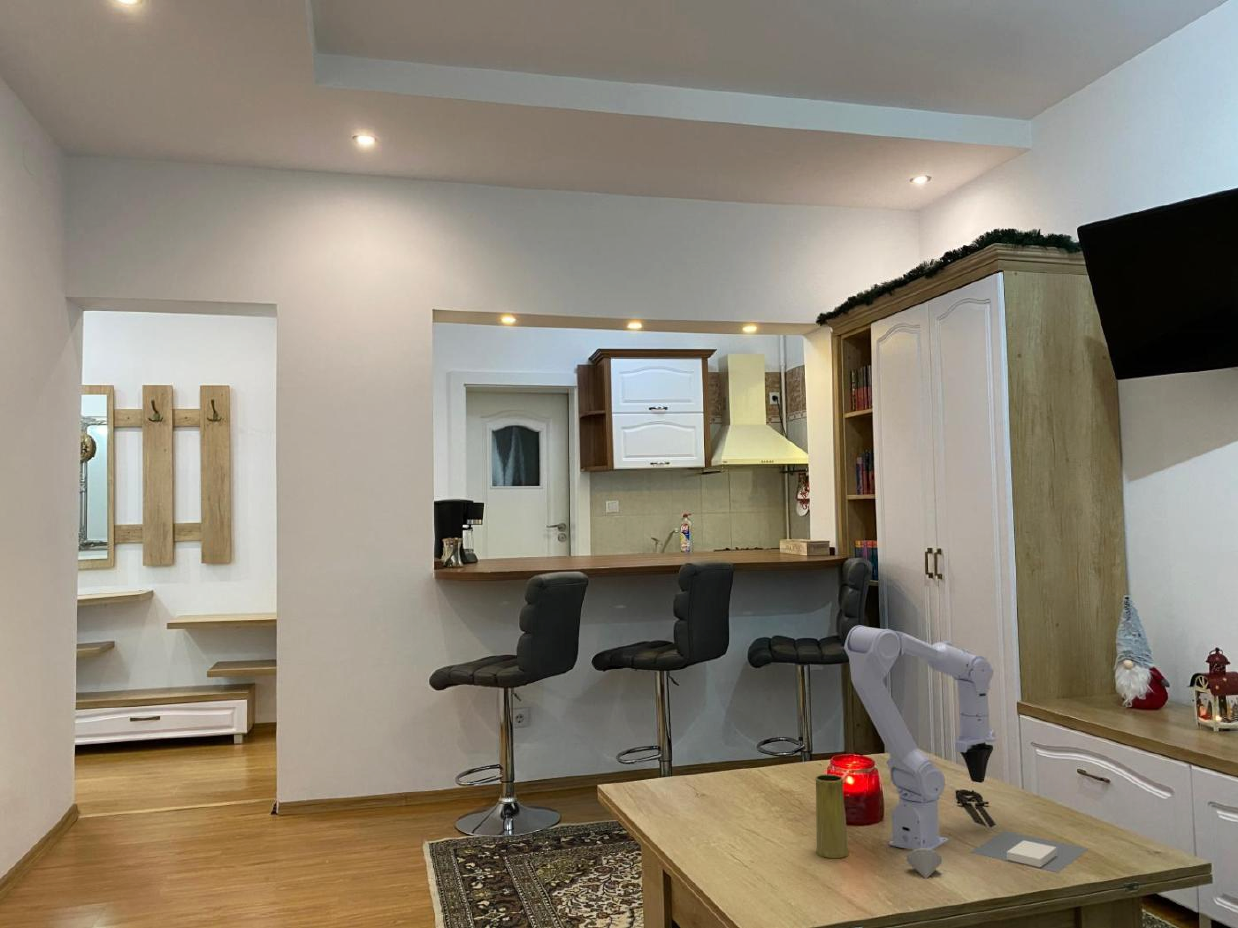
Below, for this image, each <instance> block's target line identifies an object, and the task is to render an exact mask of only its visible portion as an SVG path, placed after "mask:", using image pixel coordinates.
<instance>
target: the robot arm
mask: <svg viewBox="0 0 1238 928" xmlns="http://www.w3.org/2000/svg"><path fill="white" fill-rule="evenodd" d="M843 649H844V650H845V652H846V655H847V657H848V660H849V670H850V679H851V682H852V686H853V687H854V689H855V691H856V693H857V695H858V696H859V699H860V701H861V703H862V704H863V706H864V708H865V710H866V712H867V714H868V716H869V717H870V720H871V722H872V724H873V726H874V727H875V729H876V731H877V733H878V735H879V736H880V738H881V741H882V742H883V744H884V746H885V748H886V751H887V752H888V753H889V756H888V758H887V760H886V764H887V767H888V769H889V777H890V780H891V783H892V784H893V786H894V787H896V794H898V803H897V804H896V805H895V806H894V807H893V809H892V812H891V827H892V828H891V829H892V840H890V841H888V845H889V846H894V847H897V848H901V849H905V850H911V851H913V850H916V849H921V848H926V849H930V850H933V851H934V849H936V848H938V847H939V846H941V845H943V844H944V843H946V842H949V839H948V838H946V837H941V836H940V826H939V806H938V800H940V796H941V795H942V794H943V792H944V790H945V787H946V779H945V778H946V777H945V775H944V773H943V772H942V770H941V769H940V768H939V767H937V766H935V764H934V763H933V761H932V759H931V758H930V757H929V756H928V755H927V754H926V753H924V752H923V751H922V750H921V749H920V748H919V747H918V745H917V744H916V742H915V740H914V737H913V736H912V734H911V732H910V731H909V729H908V726H907V725H906V723H905V721H904V719H903V717H902V715H901V713H900V712H899V710H898V708H897V706H896V703H895V701H894V700H893V699H892V698H893V697H891V695H890V693H889V691H888V688H887V687H886V684H885V683H884V679H885V678H886V677H887V675H888V674H889V672H890V670H891V669H892V667H893V665H894V664H895V662H896V660H897V658H898V657H899V656H904V654H907V655H909V656H913V657H916V658H918V659H922V660H925V661H926V662H927V665H928V667H929V669H931V670H934V671H936V672H939V673H941V674H944V675H948V676H950V677H952V678H953V680H954V681H956V682H957V695H958V696H957V698H958V717H959V733H960V734H959V735H958V738H957V739H956V740H955V741H954V751H955V752H959V753H960V754H961V756H962V758H963V760H964V761H965V765H966V767H967V770H968V774H969V778H970V781H971V782H974V783H980V784H981V783H983V782H984V781H985V778H986V774H987V767H988V763H989V760H990V757H991V755H992V753H993V751H994V746H993V744H987V743H995V742H996V741H997V737H995V736H996V735H995V729H991V727H990V726H991V725H990V710H989V696H988V695H989V694H988V693H989V690H990V688H991V687H990V685H991V684H990V683H991V680H992V679H993V676H994V675H993V674H994V668H992V666H991V664H990V662H989V661H988V660H987V658H986V657H984V656H981V655H975V654H971V653H970V650H968V649H966V648H962V649H959V648H956V647H954V646H953V643H952V642H949V641H946V640H942V642H940V641H939V642H935V643H933V644H929V643H928V642H926V641H923V640H920V639H918V638H916V637H914V636H912V635H909V634H907V633H905V632H903V631H897V630H892V629H890V628H885V629H883V628H877V627H869V626H866V625H860V624H858V625H855V626H853V627H851V629H850V630H849V632H848V634H847V636H846V639H845V642H844V646H843Z"/></svg>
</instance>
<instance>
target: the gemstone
mask: <svg viewBox="0 0 1238 928" xmlns="http://www.w3.org/2000/svg"><path fill="white" fill-rule="evenodd" d="M906 861H907V862H908V864H909V865H910V866H911V867H912V868H913V869H914V870H915V871H916V872H918V873H919V874H920V875H921V876H922V877H923V878H924V879H926V880H927V879H928V878H929V877H930V876H931V875H932V874H933V873H934V872H935V871H936V870H937V869H938V868H939V866H940V865H942V862H943V858H942V855H940V853H938V852H936V851H935V850H934V849H933V850H930V849H926V848H921V849H916V850H911V851H910V852H909V853H907V855H906Z"/></svg>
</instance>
